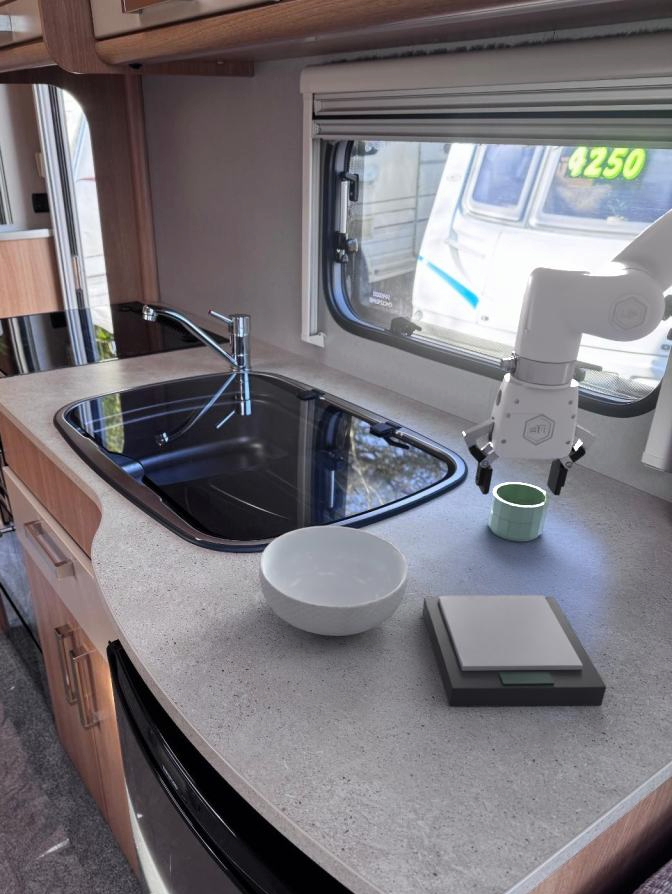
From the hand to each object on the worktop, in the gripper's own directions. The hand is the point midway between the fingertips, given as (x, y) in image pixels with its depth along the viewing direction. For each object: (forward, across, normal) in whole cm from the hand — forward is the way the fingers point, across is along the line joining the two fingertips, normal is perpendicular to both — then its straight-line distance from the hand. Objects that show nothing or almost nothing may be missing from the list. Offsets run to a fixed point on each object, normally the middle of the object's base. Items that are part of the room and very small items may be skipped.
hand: (517, 490), depth 98 cm
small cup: (+6, 0, 0) cm, 6 cm away
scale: (+6, -8, -27) cm, 29 cm away
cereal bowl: (+7, -26, -19) cm, 33 cm away
